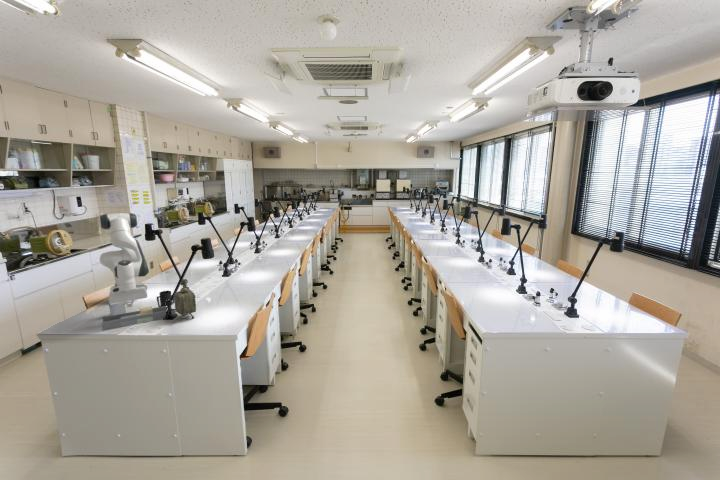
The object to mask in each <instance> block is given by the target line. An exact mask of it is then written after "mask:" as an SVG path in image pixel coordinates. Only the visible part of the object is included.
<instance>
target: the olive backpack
mask: <svg viewBox="0 0 720 480" xmlns="http://www.w3.org/2000/svg"><path fill="white" fill-rule="evenodd" d="M181 284H182V288H180V289H179V290H180V291H177V292H174V294H175V295H174V294H173V299H174V300H173V301H174V309H175V311H176V312H177V313H178V314H179V315H182V316H181V319H184V318H185V315H190V316H191V319H194V318H195V316H194V315H193V313H196V312H197V303H196V295H195V292H194V291H193V290H191V289H189V288H188V287H187V285H186V284H187V283H186V282H185V281H184V280H182V282H181Z"/></svg>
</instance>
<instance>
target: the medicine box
mask: <svg viewBox="0 0 720 480" xmlns="http://www.w3.org/2000/svg"><path fill="white" fill-rule="evenodd" d="M108 306H109V314H110V315H109V316H112V315H118V314H123V313H127V312H126V304H125V303H124V302H117V303H109V304H108Z"/></svg>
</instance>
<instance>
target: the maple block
mask: <svg viewBox="0 0 720 480" xmlns="http://www.w3.org/2000/svg"><path fill="white" fill-rule="evenodd" d="M152 308H153V306H145V307H140V308H139V309H138V311H140V315H145V314H150V313H153V310H152Z"/></svg>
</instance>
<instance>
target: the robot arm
mask: <svg viewBox="0 0 720 480" xmlns="http://www.w3.org/2000/svg"><path fill="white" fill-rule="evenodd" d="M138 224H139V218H138V216H137V215H136V214H135V213H131V212H130V213H127V212H126V213H125V212H119V213H108V214H107V213H105V214H101V215H100V216H99V218H98V225H99V227H100V228H101V229H103V230H109V236H110V237H109V238H110V244H111V245H112V246H113V247H115V248H119V250H110V251H105V252H103V253H101V254H100V255H99V262H100V263H101V265H102V266H104V267H106V268H108V269H109V270H110V271H111V272H112V274H113V276H114V277H113V278H114V285H112V286H111V287H110V288H109V290H110V291H109V293H108V303H109V304H111V303H117V302H124V303H125V306H126V308H132V307H133V304H134V302H135V301H137V300H142V299H146V298H148V293H147V291H148V285H147V284H145V283H141V284H136V279H135V278H137V277H138V278H140V277H146V276H147V275H148V274H149V272H150V266H149V264H148V263H147V260H146V258H145V255H144V252H143V250H142V249H143V248H142V247H141V245H140V242H139V241H138V239H136V238H134V236H133V235H132V233H131V229H133V228H136V227H137V226H138Z"/></svg>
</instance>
